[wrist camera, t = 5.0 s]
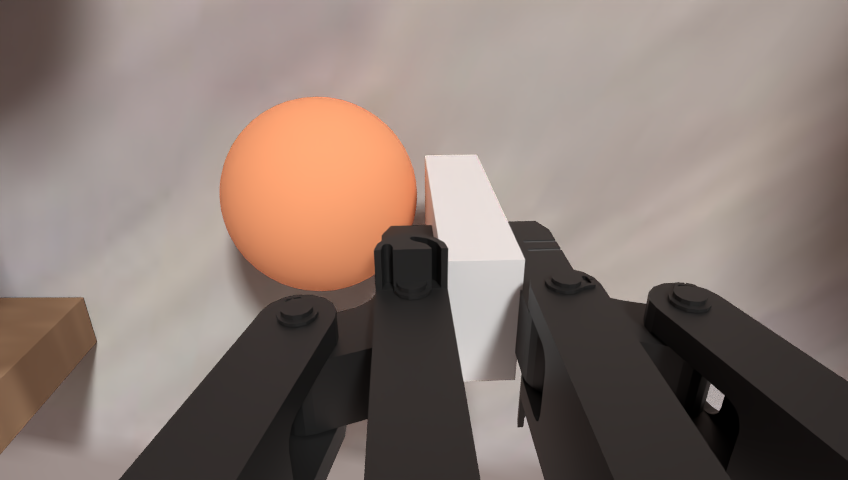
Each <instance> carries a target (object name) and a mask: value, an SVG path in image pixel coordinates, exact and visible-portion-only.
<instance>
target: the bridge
mask: <svg viewBox="0 0 848 480" xmlns="http://www.w3.org/2000/svg"><path fill="white" fill-rule="evenodd" d="M96 342H97V341H96V338H95V335H94V331H93V328H92V325H91V322H90V318H89V315H88V312H87V309H86V305H85V302H84V299H83V298H0V454H1V453H2V452H3V451H4V449H5V448H6V447H7V446H8V445H9V444H10V442H11V441H12V440H13V439H14V438H15V437H16V435H17V434H18V433H19V432H20V431H21V430H22V428H23V427H24V426H25V425H26V424H27V423H28V421H29V420H30V419H31V418H32V417H33V416H34V414H35V413H36V412H37V411H38V410H39V409H40V407H41V406H42V405H43V404H44V403H45V402H46V400H47V399H48V398H49V397H50V396H51V395H52V393H53V392H54V391H55V390H56V389H57V388H58V386H59V385H60V384H61V383H62V382H63V381H64V379H65V378H66V377H67V376H68V375H69V374H70V372H71V371H72V370H73V369H74V368H75V367H76V365H77V364H78V363H79V362H80V361H81V360H82V358H83V357H84V356H85V355H86V354H87V353H88V351H89V350H90V349H91V348H92V347H93V346H94V344H95V343H96Z"/></svg>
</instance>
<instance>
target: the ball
mask: <svg viewBox="0 0 848 480" xmlns="http://www.w3.org/2000/svg"><path fill="white" fill-rule="evenodd" d="M416 202H417V189H416V180H415V175H414V170H413V167H412V164H411V161H410V159H409V156H408V154H407V152H406V150H405V148H404V146H403V145H402V143H401V142H400V140H399V139H398V137H397V136H396V135H395V134H394V132H393V131H392V130H391V129H390V128H389V127H388V126H387V125H386V124H385V123H384V122H383V121H381V120H380V119H379V118H378V117H376V116H375V115H373V114H372V113H370V112H369V111H367V110H366V109H364V108H361V107H359V106H357V105H355V104H353V103H350V102H347V101H344V100H340V99H335V98H329V97H307V98H299V99H295V100H290V101H287V102H284V103H281V104H279V105H276V106H274V107H272V108H270V109H269V110H267V111H265V112H263V113H262V114H260V115H259V116H258V117H257V118H255V119H254V120H253V121H251V122H250V123H249V124H248V125H247V127H246V128H245V129H244V130H243V131H242V132H241V133H240V134H239V136H238V137H237V139H236V140H235V142H234V143H233V145H232V146H231V149H230V151H229V153H228V155H227V157H226V160H225V163H224V166H223V170H222V175H221V180H220V205H221V211H222V215H223V219H224V222H225V225H226V228H227V230H228V233H229V235H230V237H231V238H232V240H233V242H234V244H235V245H236V247H237V248H238V250H239V251H240V252H241V253H242V255H243V256H244V257H245V258H246V259H247V260H248V261H249V262H250V263H251V264H252V265H253V266H254V267H255V268H256V269H257V270H259V271H260V272H262V273H263V274H265V275H266V276H268V277H269V278H271V279H273V280H275V281H277V282H279V283H281V284H284V285H287V286H290V287H293V288H298V289H303V290H312V291H329V290H337V289H342V288H347V287H349V286H352V285H355V284H358V283H360V282H362V281H364V280H366V279H368V278H370V277H371V276H373V275H374V274H375V265H374V249H375V247H376V245H377V244H378V243H379V242H381V240H382V234H383V233H384V232H385V231H386V230H387V229H388V228H389V227H390V226H407V225H412V223H413V220H414V216H415V211H416Z"/></svg>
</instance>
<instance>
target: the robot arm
mask: <svg viewBox="0 0 848 480" xmlns="http://www.w3.org/2000/svg"><path fill="white" fill-rule="evenodd" d="M374 265H375V285H376V295H375V296H374V297H373V298H372V299H371V300H370V301H368V302H367V303H365V304H363V305H361V306H359V307H356V308H353V309H349V310H346V311H341V312H336V309H335V307H334V305H333V303H331V302H330V301H328V300H327V299H325V298H322V297H318V296H313V295H293V296H289V297H285V298H282V299H280V300H278V301H276V302H273V303H271V304H269V305H268V306H267V307H266V308H265V309H263V310H262V311H261V312H260V313H259V314H258V316H257V317H256V318H255V319H254V320H253V322H252V323H251V324H250V325H249V326H248V327H247V329H246V330H245V331H244V332H243V333H242V335H241V336H240V337H239V338H238V339H237V341H236V342H235V343H234V344H233V345H232V346H231V348H230V349H229V350H228V351H227V352H226V354H225V355H224V356H223V357H222V358H221V359H220V361H219V362H218V363H217V364H216V365H215V367H214V368H213V369H212V370H211V371H210V372H209V374H208V375H207V376H206V377H205V378H204V380H203V381H202V382H201V383H200V384H199V386H198V387H197V388H196V389H195V390H194V391H193V393H192V394H191V395H190V396H189V397H188V399H187V400H186V401H185V402H184V403H183V404H182V406H181V407H180V408H179V409H178V410H177V412H176V413H175V414H174V415H173V416H172V417H171V419H170V420H169V421H168V422H167V423H166V425H165V426H164V427H163V428H162V429H161V430H160V432H159V433H158V434H157V435H156V436H155V438H154V439H153V440H152V441H151V442H150V444H149V445H148V446H147V447H146V448H145V449H144V451H143V452H142V453H141V454H140V455H139V457H138V458H137V459H136V460H135V461H134V462H133V464H132V465H131V466H130V467H129V468H128V470H127V471H126V472H125V473H124V474H123V476H122V477H121V478H120V479H119V480H326V479H327V476H328V474H329V472H330V469H331V467H332V465H333V462H334V460H335V458H336V456H337V453H338V451H339V449H340V446H341V444H342V442H343V439H344V437H345V432H346V425H348V424H352V423H355V422H359V421H362V420H365V419H368V425H367V441H366V457H365V473H364V480H480V475H479V469H478V463H477V457H476V451H475V445H474V440H473V434H472V428H471V422H470V416H469V410H468V404H467V399H466V393H465V387H464V381H493V380H515V374H516V362H517V360H518V363H519V366H520V369H521V373H522V375H521V386H520V397H519V408H518V427H523V424H524V418H525V416H526V418H527V422H528V425H529V428H530V432H531V435H532V439H533V442H534V446H535V449H536V452H537V456H538V459H539V463H540V466H541V469H542V473H543V476H544V480H848V381H846V380H845V379H843V378H842V377H840V376H839V375H837V374H836V373H834V372H833V371H831V370H830V369H828V368H827V367H825V366H824V365H822V364H821V363H819V362H818V361H816V360H815V359H813V358H812V357H810V356H809V355H807V354H806V353H804V352H803V351H801V350H800V349H798V348H797V347H795V346H794V345H792V344H791V343H789V342H788V341H786V340H785V339H783V338H782V337H780V336H779V335H777V334H776V333H774V332H773V331H771V330H770V329H768V328H767V327H765V326H764V325H762V324H761V323H759V322H758V321H756V320H755V319H753V318H752V317H750V316H749V315H747V314H746V313H744V312H743V311H741V310H740V309H738V308H737V307H735V306H734V305H732V304H731V303H729V302H728V301H726V300H725V299H723V298H722V297H720V296H719V295H717V294H715V293H713V292H711V291H709V290H707V289H704V288H701V287H697V286H696V285H694V284H689V283H686V284H684V283H679V282H677V283H664V284H661V285H658V286H655V287H653V288H652V289H651V290H650V292H649V294H648V299H647V304H643V303H636V302H629V301H623V300H618V299H613V298H610V297H609V295H608V294H607V292H606V291H605V289H604V288H603V286H602V285H601V284H600V283H599V282H598V281H597V280H596V279H595V278H594V277H592V276H590V275H588V274H586V273H584V272H581V271H577V270H573V268H572V266H571V265H570V263H569V261H568V260H567V258H566V257H565V255H564V253H563V252H562V250H560V247H559V245H558V243H557V242H555V239H554V237H553V235H552V234H551V232H550V230H549V229H547V228H546V227H544V226H542V225H541V224H539V223H538V222H536V221H515V222H508V221H507V219H506V217H505V215H504V212H503V210H502V208H501V206H500V204H499V202H498V199H497V197H496V195H495V193H494V191H493V189H492V186H491V184H490V182H489V180H488V178H487V176H486V173H485V171H484V169H483V167H482V165H481V162H480V160H479V158H478V156H477V155H425V225H407V226H390V227H389V228H388V229H387V230H386V231H385V232H384V233H383V234H382V240H381V242H379V243H378V244H377V245H376V247H375V249H374ZM710 384H712V385H714V386H715V387H716V388H717V389H718V390H719V391H720V392H722V393H723V394H724V395H725V397H724V400H723V403H722V407H721V409H720V411H718V410H716V409H715V408H713V407H712V406H711V405H710V404H709V403H708V402H707V401H706V398H707V394H708V391H709V387H710Z"/></svg>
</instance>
